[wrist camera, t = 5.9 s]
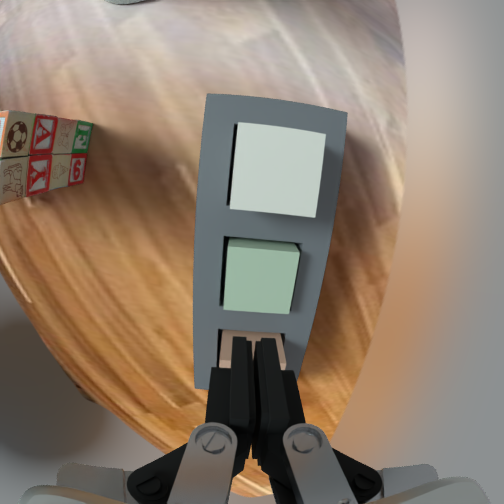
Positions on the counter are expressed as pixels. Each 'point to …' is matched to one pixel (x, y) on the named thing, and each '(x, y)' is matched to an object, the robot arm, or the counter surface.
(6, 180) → the stack of blocks
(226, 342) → the beige cube
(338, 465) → the robot arm
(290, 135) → the key cream
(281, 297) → the key sage
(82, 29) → the counter surface
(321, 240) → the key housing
